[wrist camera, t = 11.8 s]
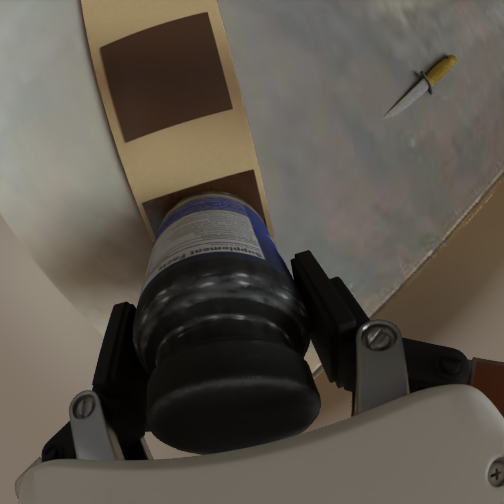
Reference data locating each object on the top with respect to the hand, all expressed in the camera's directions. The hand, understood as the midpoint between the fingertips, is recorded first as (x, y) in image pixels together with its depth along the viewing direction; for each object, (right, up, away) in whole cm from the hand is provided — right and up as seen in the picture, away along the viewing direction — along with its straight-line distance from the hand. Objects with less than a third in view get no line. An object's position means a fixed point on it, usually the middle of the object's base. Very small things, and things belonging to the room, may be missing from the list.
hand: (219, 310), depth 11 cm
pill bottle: (-1, +3, +5) cm, 6 cm away
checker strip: (-5, +19, -4) cm, 20 cm away
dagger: (+12, +13, +4) cm, 18 cm away
